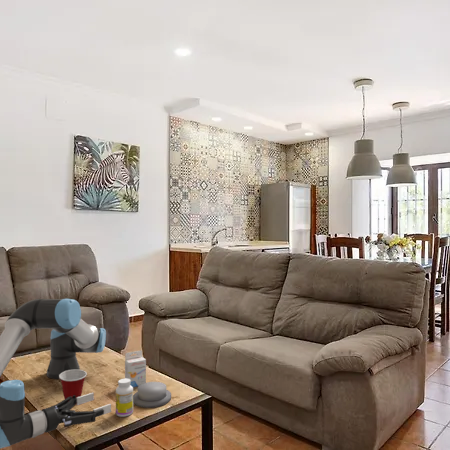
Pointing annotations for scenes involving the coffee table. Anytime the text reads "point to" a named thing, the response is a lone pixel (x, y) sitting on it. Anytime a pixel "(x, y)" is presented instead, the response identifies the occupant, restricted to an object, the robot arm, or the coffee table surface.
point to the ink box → (135, 368)
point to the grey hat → (151, 395)
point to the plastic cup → (72, 382)
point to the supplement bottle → (124, 398)
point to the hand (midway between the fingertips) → (101, 401)
